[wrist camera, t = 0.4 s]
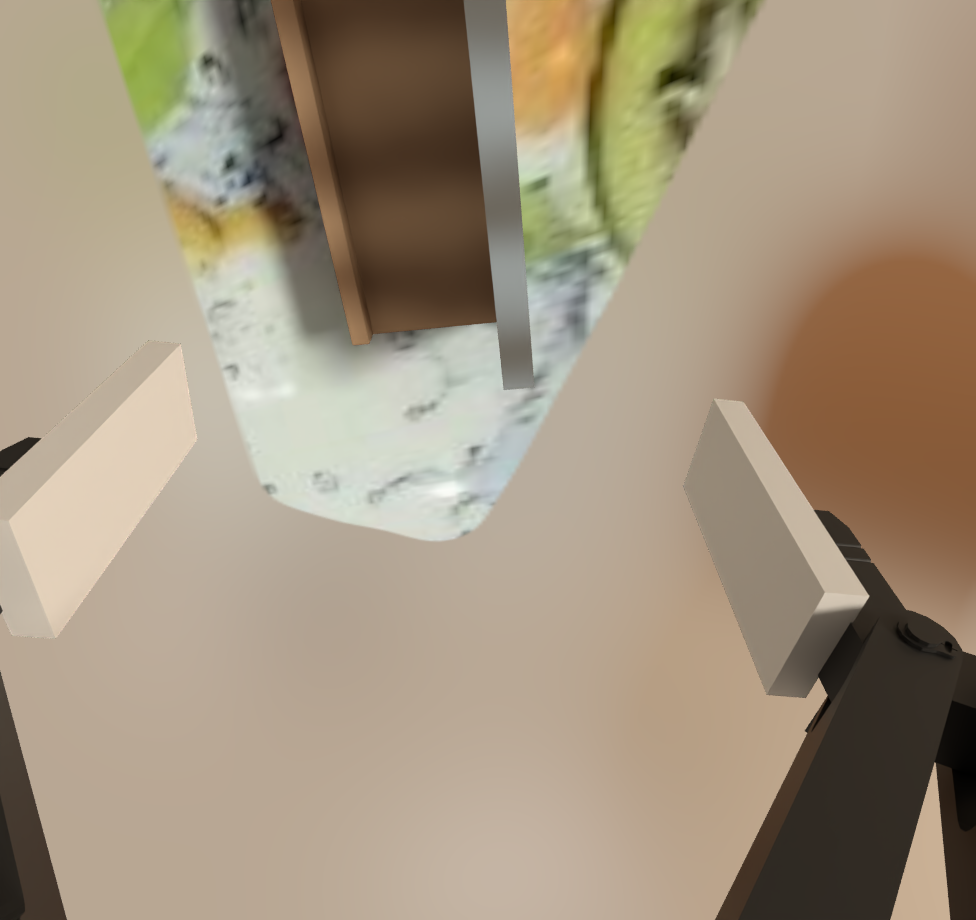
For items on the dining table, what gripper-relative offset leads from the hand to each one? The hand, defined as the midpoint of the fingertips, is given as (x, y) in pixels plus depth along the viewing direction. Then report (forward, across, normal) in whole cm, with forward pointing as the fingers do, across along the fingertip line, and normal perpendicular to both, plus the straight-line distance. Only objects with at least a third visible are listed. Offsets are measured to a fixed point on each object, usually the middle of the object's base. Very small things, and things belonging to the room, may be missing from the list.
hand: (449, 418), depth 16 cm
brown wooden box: (+26, -4, +2) cm, 27 cm away
